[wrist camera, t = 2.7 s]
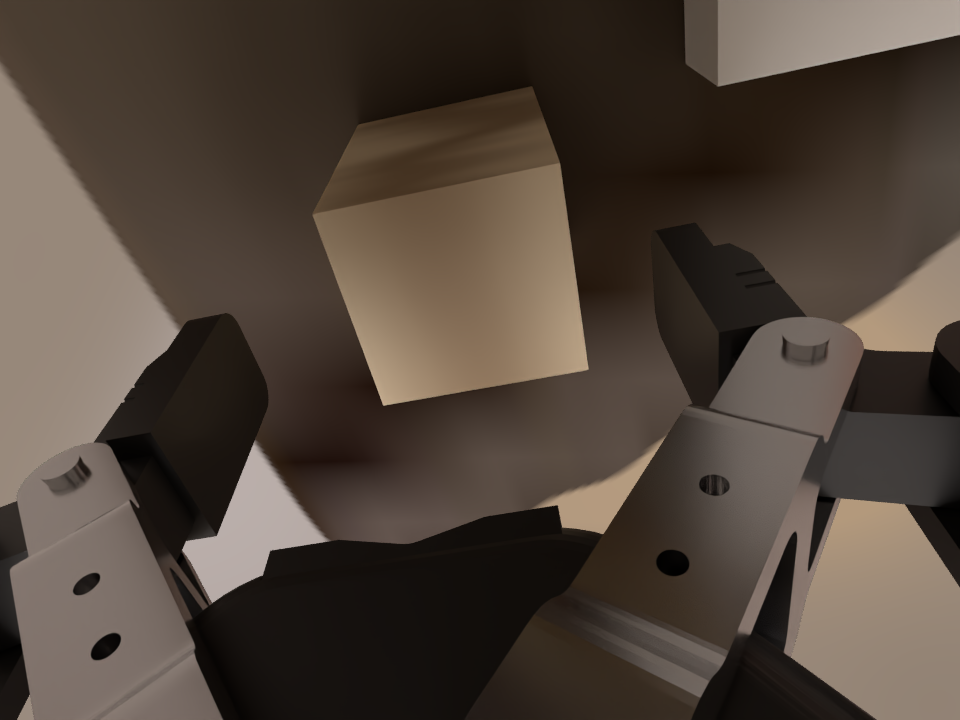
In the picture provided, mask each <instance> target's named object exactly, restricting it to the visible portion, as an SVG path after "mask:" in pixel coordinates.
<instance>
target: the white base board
mask: <svg viewBox="0 0 960 720" xmlns="http://www.w3.org/2000/svg"><path fill="white" fill-rule="evenodd" d="M684 20H685V60H686V64H687V65H688V66H689V67H691V68H692V69H694V70H695V71H697V72H698V73H699V74H701V75H702V76H704V77H705V78H706V79H708V80H709V81H711V82H712V83H714V84H715V85H716V86H723V85H728V84H732V83H737V82H742V81H746V80H751V79H756V78H760V77H765V76H770V75H774V74H779V73H784V72H788V71H793V70H798V69H802V68H807V67H812V66H816V65H821V64H826V63H830V62H835V61H840V60H844V59H849V58H854V57H858V56H863V55H868V54H872V53H877V52H882V51H886V50H891V49H896V48H900V47H905V46H910V45H914V44H919V43H924V42H928V41H933V40H938V39H942V38H947V37H951V36H956V35H960V0H684Z"/></svg>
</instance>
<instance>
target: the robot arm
mask: <svg viewBox="0 0 960 720" xmlns="http://www.w3.org/2000/svg"><path fill="white" fill-rule="evenodd" d="M651 250H652V267H653V284H654V301H655V313H656V319H657V324H658V328H659V332H660V335H661V338H662V340H663V342H664V344H665V347H666V349H667V351H668V353H669V355H670V357H671V359H672V361H673V363H674V365H675V367H676V370H677V372H678V374H679V376H680V378H681V380H682V382H683V384H684V386H685V388H686V391H687V393H688V395H689V397H690V399H691V401H692V403H693V404H690V405H688V406H687V407H686V408H685V409H684V410H683V412H682V413H681V415H680V416H679V418H678V419H677V421H676V422H675V424H674V425H673V427H672V429H671V430H670V432H669V433H668V435H667V436H666V438H665V439H664V441H663V443H662V444H661V446H660V447H659V449H658V450H657V452H656V454H655V455H654V457H653V458H652V460H651V461H650V463H649V464H648V466H647V467H646V469H645V471H644V472H643V474H642V475H641V477H640V478H639V480H638V481H637V483H636V485H635V486H634V488H633V489H632V491H631V492H630V494H629V496H628V497H627V499H626V500H625V502H624V503H623V505H622V506H621V508H620V510H619V511H618V512H617V514H616V516H615V517H614V519H613V520H612V522H611V523H610V525H609V527H608V528H607V530H606V531H605V533H604V534H600V533H596V532H592V531H586V530H580V529H572V528H562V525H561V520H560V515H559V510H558V506H550V507H544V508H538V509H531V510H525V511H519V512H512V513H506V514H500V515H493V516H487V517H483V518H480V519H478V520H475V521H472V522H470V523H467V524H464V525H461V526H459V527H456V528H453V529H451V530H448V531H445V532H442V533H440V534H437V535H434V536H432V537H429V538H426V539H424V540H421V541H418V542H415V543H411V544H393V543H377V542H362V541H346V540H336V541H329V542H323V543H317V544H310V545H304V546H298V547H291V548H285V549H279V550H272V551H270V554H269V557H268V560H267V564H266V567H265V571H264V574H263V576H260V577H258V578H255V579H253V580H251V581H249V582H247V583H245V584H243V585H241V586H239V587H237V588H235V589H234V590H232V591H230V592H228V593H227V594H225V595H223V596H222V597H221V598H219V599H218V600H216V601H215V602H213V603H212V602H211V600H210V598H209V596H208V594H207V593H206V591H205V589H204V587H203V585H202V583H201V581H200V579H199V578H198V575H197V574H196V572H195V570H194V568H193V566H192V564H191V562H190V561H189V559H188V558H187V556H186V555H185V554H184V552H183V551H182V549H183V546H184V544H185V542H186V541H188V540H195V539H201V538H207V537H213V536H217V534H218V531H219V529H220V526H221V524H222V521H223V518H224V516H225V514H226V511H227V508H228V506H229V503H230V501H231V499H232V496H233V494H234V491H235V488H236V486H237V483H238V481H239V478H240V476H241V473H242V470H243V468H244V466H245V463H246V461H247V458H248V456H249V453H250V451H251V448H252V446H253V443H254V441H255V438H256V436H257V433H258V431H259V428H260V425H261V423H262V420H263V418H264V415H265V413H266V410H267V407H268V390H267V385H266V381H265V379H264V376H263V374H262V372H261V370H260V368H259V366H258V364H257V362H256V360H255V358H254V355H253V353H252V351H251V349H250V347H249V345H248V343H247V341H246V339H245V337H244V335H243V333H242V331H241V328H240V326H239V324H238V323H237V321H236V320H235V318H234V317H233V316H232V315H230V314H228V313H225V314H220V315H215V316H209V317H204V318H199V319H194V320H189V321H187V322H186V323H185V325H184V326H183V328H182V329H181V331H180V332H179V334H178V335H177V336H176V338H175V339H174V341H173V342H172V344H171V345H170V347H169V348H168V350H167V351H166V352H164V353H163V354H162V355H161V356H159V357H158V358H157V359H156V360H155V361H153V362H152V363H151V364H150V365H149V366H147V367H146V369H145V370H144V372H143V373H142V374H141V376H140V377H139V379H138V380H137V382H136V383H135V388H132V389H131V390H130V392H129V393H128V394H127V396H126V397H125V399H124V400H125V402H124V403H121V404H120V406H119V407H118V409H117V410H116V411H115V413H114V414H113V416H112V417H111V419H110V420H109V421H108V423H107V424H106V426H105V427H104V429H103V430H102V431H101V433H100V434H99V436H98V437H97V439H96V440H95V441H94V443H88V444H83V445H80V446H76V447H73V448H71V449H68V450H66V451H64V452H61V453H59V454H58V455H56V456H54V457H52V458H51V459H49V460H47V461H46V462H44V463H43V464H42V465H40V466H39V467H38V468H37V469H35V470H34V471H33V472H32V473H31V474H30V475H29V476H28V477H27V478H26V480H25V481H24V482H23V483H22V485H21V486H20V488H19V490H18V493H17V501H16V502H13V503H11V504H8V505H6V506H3V507H0V720H17V718H18V716H19V714H20V712H21V710H22V708H23V706H24V705H25V703H26V701H27V699H28V697H29V695H30V697H31V703H32V709H33V715H34V720H876V719H875V718H873V717H872V716H871V715H869V714H868V713H867V712H865V711H864V710H862V709H861V708H860V707H858V706H857V705H856V704H854V703H853V702H851V701H850V700H849V699H847V698H846V697H845V696H843V695H842V694H840V693H839V692H838V691H836V690H835V689H833V688H832V687H831V686H829V685H828V684H827V683H825V682H824V681H822V680H821V679H820V678H818V677H817V676H815V675H814V674H813V673H811V672H810V671H808V670H807V669H806V668H804V667H803V666H801V665H800V664H799V663H798V662H796V661H795V660H793V659H792V658H791V655H792V652H793V648H794V645H795V642H796V638H797V634H798V630H799V627H800V622H801V617H802V613H803V609H804V605H805V601H806V597H807V594H808V591H809V588H810V585H811V582H812V579H813V576H814V574H815V571H816V568H817V565H818V562H819V559H820V556H821V554H822V551H823V548H824V545H825V542H826V540H827V537H828V534H829V531H830V528H831V525H832V523H833V519H834V517H835V514H836V511H837V508H838V505H839V503H840V499H841V498H844V499H854V500H866V501H876V502H887V503H899V504H905V505H906V507H907V508H908V510H909V511H910V513H911V514H912V516H913V517H914V519H915V520H916V522H917V523H918V525H919V526H920V528H921V529H922V531H923V532H924V534H925V535H926V537H927V539H928V540H929V542H930V543H931V545H932V546H933V547H934V549H935V551H936V552H937V554H938V555H939V557H940V558H941V560H942V561H943V563H944V564H945V566H946V567H947V568H948V570H949V572H950V573H951V574H952V576H953V577H954V579H955V581H956V582H957V584H958V585H959V587H960V321H957V322H953V323H952V324H949V325H947V326H945V327H944V328H943V329H941V331H940V332H939V333H938V334H937V338H936V341H935V345H934V350H933V352H899V351H898V352H897V351H874V350H867V349H864V346H863V342H862V340H861V339H860V337H859V336H858V335H857V334H856V333H855V332H853V331H852V330H851V329H849V328H847V327H846V326H844V325H841V324H839V323H836V322H833V321H829V320H825V319H820V318H812V317H807V316H806V315H805V314H804V313H803V312H802V310H801V309H800V308H799V307H798V306H797V305H796V304H795V302H794V301H793V300H792V299H791V298H790V297H789V295H788V294H787V293H786V292H785V291H784V290H783V289H782V287H781V286H780V285H779V284H778V283H775V279H774V278H773V277H772V276H771V275H770V274H769V272H768V271H765V268H764V267H763V266H762V264H761V263H760V262H759V261H758V260H757V259H756V257H755V256H754V255H753V254H752V253H750V252H747V251H745V250H743V249H741V248H738V247H736V246H734V245H732V244H730V243H729V244H724V245H718V246H713V245H712V243H711V242H710V241H709V239H708V238H707V237H706V236H705V234H704V233H703V232H702V230H701V229H700V228H699V226H698V225H697V224H696V223H691V224H686V225H681V226H676V227H671V228H665V229H660V230H655V231H653V232H652V236H651Z"/></svg>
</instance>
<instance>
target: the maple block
mask: <svg viewBox="0 0 960 720" xmlns="http://www.w3.org/2000/svg"><path fill="white" fill-rule="evenodd" d="M312 215H313V218H314V220H315V223H316V226H317V228H318V231H319V234H320V236H321V239H322V242H323V244H324V247H325V250H326V253H327V255H328V258H329V261H330V263H331V266H332V269H333V271H334V274H335V277H336V279H337V282H338V285H339V287H340V290H341V293H342V295H343V298H344V301H345V304H346V306H347V309H348V312H349V314H350V317H351V320H352V322H353V325H354V328H355V330H356V333H357V336H358V338H359V341H360V344H361V346H362V349H363V352H364V355H365V357H366V360H367V363H368V365H369V368H370V371H371V373H372V376H373V379H374V381H375V384H376V387H377V389H378V392H379V395H380V397H381V400H382V403H383V405H389V404H395V403H401V402H406V401H412V400H418V399H424V398H429V397H435V396H441V395H447V394H452V393H458V392H464V391H470V390H475V389H481V388H487V387H493V386H498V385H504V384H510V383H516V382H521V381H527V380H533V379H538V378H544V377H550V376H556V375H561V374H567V373H573V372H579V371H584V370H588V363H587V356H586V348H585V341H584V334H583V326H582V319H581V312H580V305H579V297H578V290H577V283H576V275H575V268H574V261H573V254H572V246H571V239H570V232H569V224H568V217H567V210H566V203H565V195H564V188H563V181H562V173H561V166H560V161H559V159H558V156H557V153H556V150H555V148H554V145H553V142H552V139H551V137H550V134H549V131H548V128H547V126H546V123H545V120H544V118H543V115H542V112H541V109H540V107H539V104H538V101H537V98H536V96H535V93H534V90H533V87H532V86H531V87H526V88H522V89H517V90H512V91H508V92H503V93H499V94H494V95H490V96H485V97H481V98H476V99H472V100H467V101H463V102H458V103H454V104H449V105H445V106H440V107H435V108H431V109H426V110H422V111H417V112H413V113H408V114H404V115H399V116H395V117H390V118H386V119H381V120H377V121H372V122H368V123H363V124H358V126H357V128H356V130H355V132H354V134H353V136H352V138H351V140H350V142H349V143H348V145H347V147H346V149H345V151H344V153H343V155H342V157H341V159H340V161H339V163H338V165H337V167H336V169H335V171H334V173H333V175H332V177H331V179H330V181H329V183H328V185H327V187H326V188H325V190H324V192H323V194H322V196H321V198H320V200H319V202H318V204H317V206H316V208H315V210H314V212H313V214H312Z"/></svg>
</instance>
